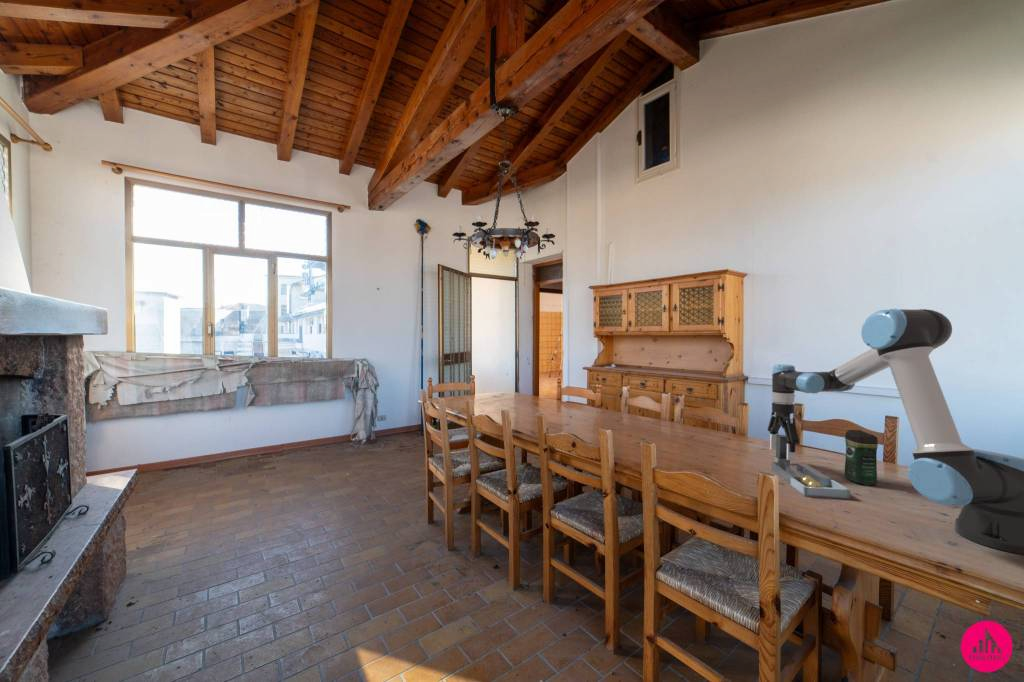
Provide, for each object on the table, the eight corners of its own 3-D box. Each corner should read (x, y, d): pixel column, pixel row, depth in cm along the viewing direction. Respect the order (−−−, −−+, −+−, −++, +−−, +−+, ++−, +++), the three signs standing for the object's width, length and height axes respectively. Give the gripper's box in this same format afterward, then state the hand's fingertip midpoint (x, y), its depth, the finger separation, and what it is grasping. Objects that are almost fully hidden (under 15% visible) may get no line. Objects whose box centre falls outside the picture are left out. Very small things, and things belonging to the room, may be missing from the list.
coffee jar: (881, 487, 144) (883, 435, 143) (856, 485, 145) (857, 434, 145) (864, 477, 153) (865, 428, 152) (840, 475, 155) (841, 427, 154)
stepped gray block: (790, 469, 162) (790, 436, 162) (778, 468, 163) (778, 436, 163) (785, 466, 165) (786, 434, 165) (774, 465, 166) (774, 434, 166)
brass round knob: (814, 483, 142) (819, 486, 139) (803, 488, 143) (807, 491, 140) (808, 473, 143) (812, 476, 140) (797, 478, 144) (801, 481, 141)
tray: (849, 498, 134) (850, 489, 134) (804, 496, 136) (804, 487, 136) (832, 488, 142) (832, 479, 142) (790, 486, 145) (790, 477, 145)
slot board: (830, 488, 143) (830, 478, 142) (793, 486, 145) (793, 476, 144) (805, 472, 158) (805, 463, 158) (771, 470, 160) (771, 462, 160)
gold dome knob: (809, 476, 139) (816, 480, 136) (818, 483, 139) (825, 486, 136) (802, 486, 139) (809, 489, 136) (811, 492, 139) (818, 496, 136)
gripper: (810, 408, 151) (809, 465, 151) (777, 397, 175) (777, 446, 176) (788, 408, 152) (787, 464, 152) (759, 397, 176) (758, 445, 177)
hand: (782, 454), depth 164 cm, fingers open, 13 cm apart
